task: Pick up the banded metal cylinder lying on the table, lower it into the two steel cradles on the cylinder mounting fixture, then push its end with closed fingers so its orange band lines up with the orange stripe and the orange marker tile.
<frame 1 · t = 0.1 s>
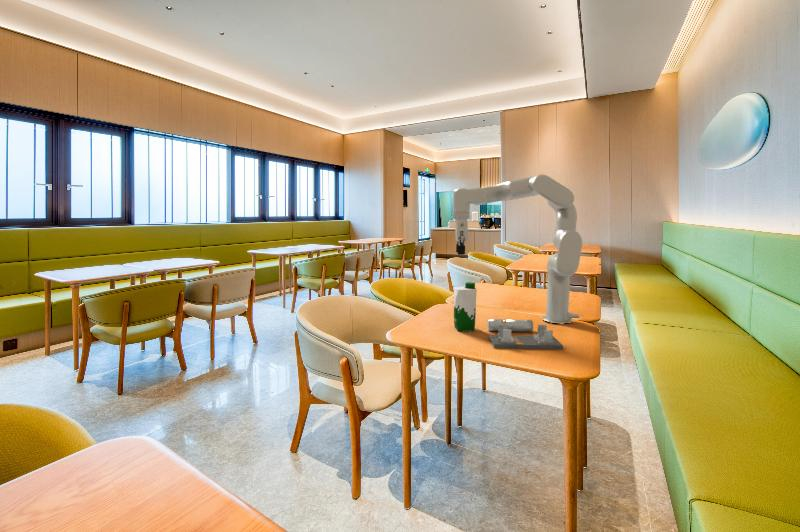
hand: (460, 253, 187), 31 cm above the table, tool pointing down, fingers open, 9 cm apart
banded metal cylinder: (510, 325, 172), point 2 cm above the table
cylinder mounting fixture: (524, 343, 155), on the table
milk carton: (464, 329, 175), on the table
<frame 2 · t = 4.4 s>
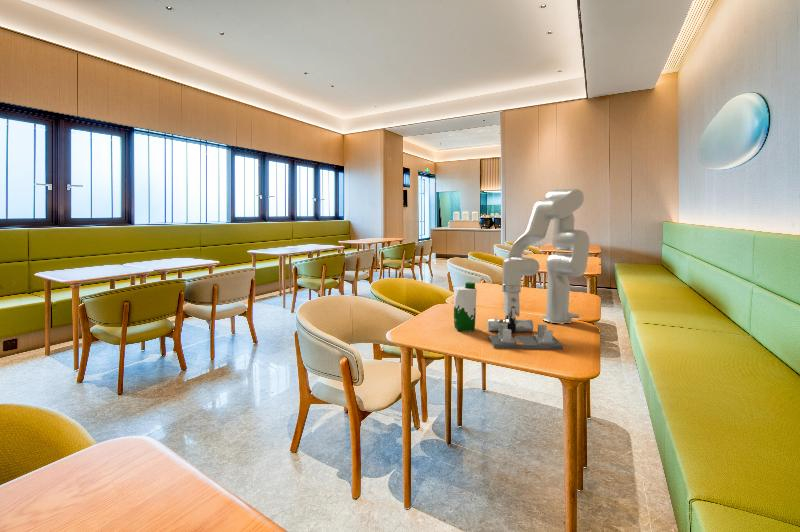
hand: (509, 330, 172), 0 cm above the table, tool pointing down, fingers closed on banded metal cylinder, 5 cm apart
banded metal cylinder: (510, 325, 172), point 2 cm above the table, touching gripper
everything else where it was.
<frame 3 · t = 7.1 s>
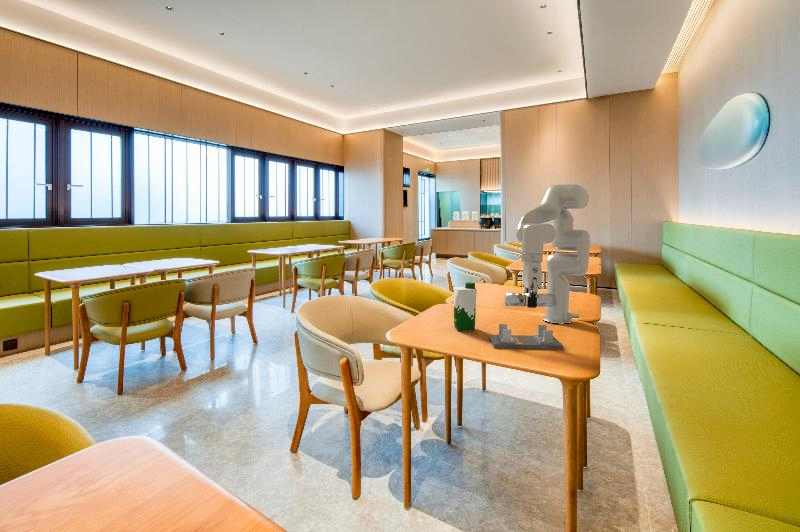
hand: (529, 305, 153), 15 cm above the table, tool pointing down, fingers closed on banded metal cylinder, 5 cm apart
banded metal cylinder: (529, 299, 153), point 17 cm above the table, touching gripper
everything else where it was.
when the fingers open (4 cm above the table, at t = 9.8 s): banded metal cylinder stays where it is, resting on cylinder mounting fixture.
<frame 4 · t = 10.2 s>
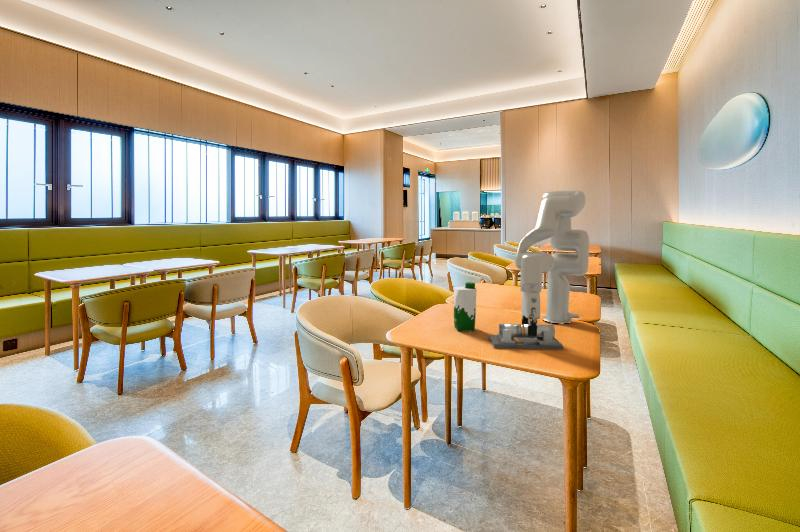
hand: (528, 331, 155), 5 cm above the table, tool pointing down, fingers open, 9 cm apart
banded metal cylinder: (528, 331, 155), point 5 cm above the table, touching cylinder mounting fixture
everything else where it was.
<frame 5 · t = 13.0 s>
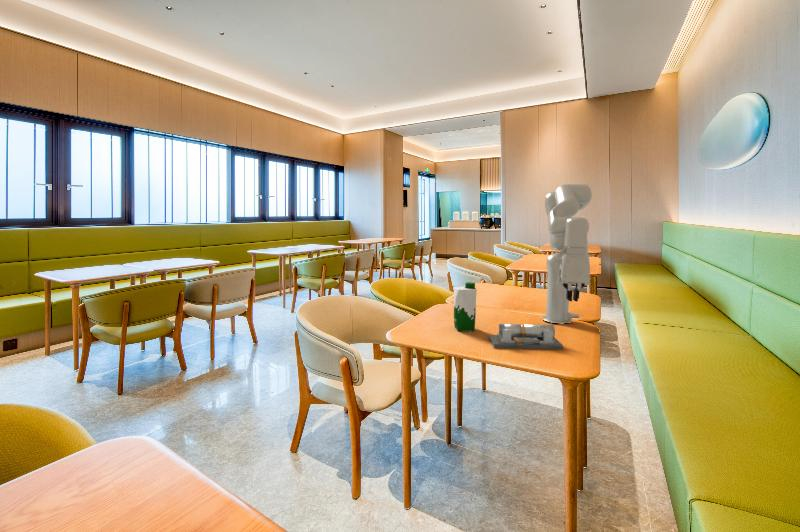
hand: (572, 300, 152), 17 cm above the table, tool pointing down, fingers closed
nothing on the table moved.
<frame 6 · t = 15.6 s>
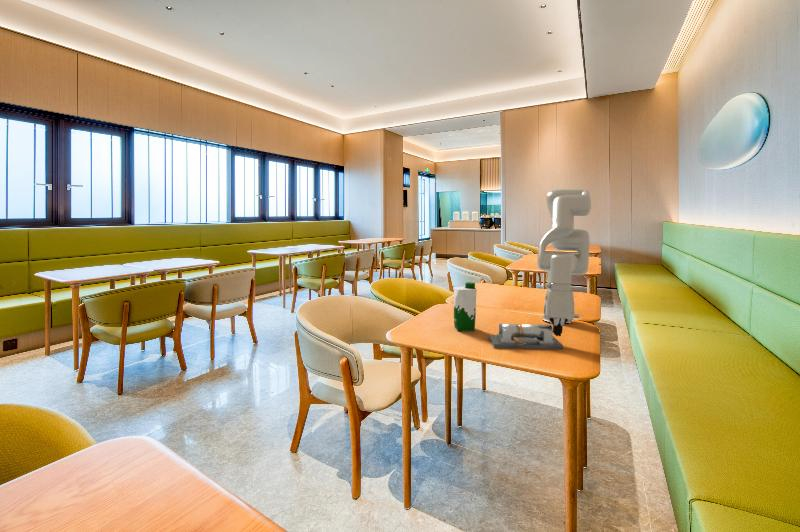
hand: (557, 335, 154), 4 cm above the table, tool pointing down, fingers closed
banded metal cylinder: (526, 331, 155), point 5 cm above the table, touching gripper, cylinder mounting fixture
everything else where it was.
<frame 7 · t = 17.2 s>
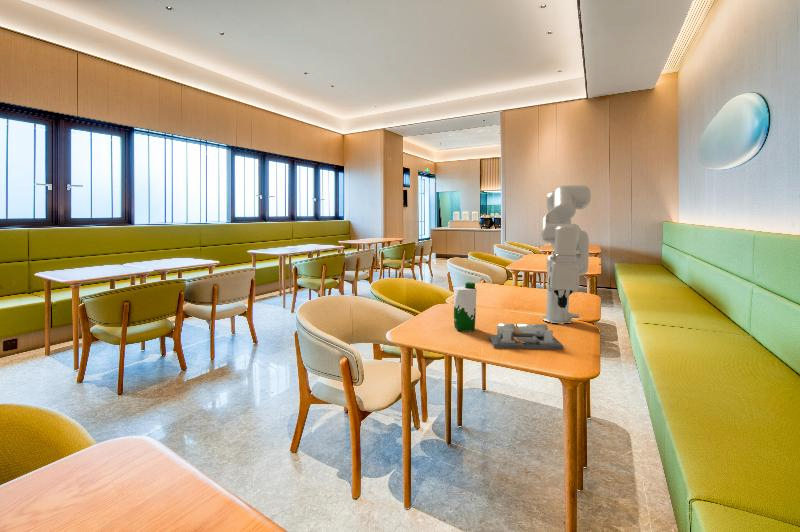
hand: (562, 307, 154), 14 cm above the table, tool pointing down, fingers closed
banded metal cylinder: (522, 330, 155), point 5 cm above the table, tilted 18°, touching cylinder mounting fixture
everything else where it was.
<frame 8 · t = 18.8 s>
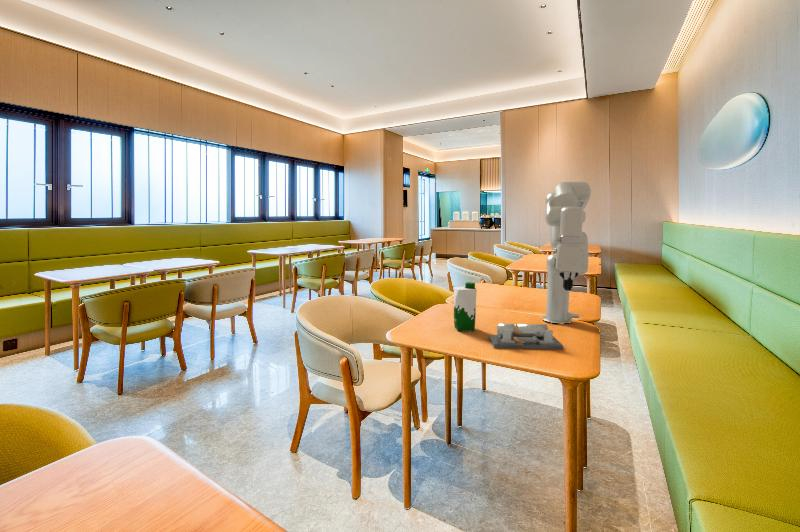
hand: (567, 289, 152), 21 cm above the table, tool pointing down, fingers closed
nothing on the table moved.
at the end: banded metal cylinder 0.7 cm off-centre on the cylinder mounting fixture, point 5.0 cm above the cylinder mounting fixture's base; banded metal cylinder touching cylinder mounting fixture; the gripper is holding nothing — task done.
